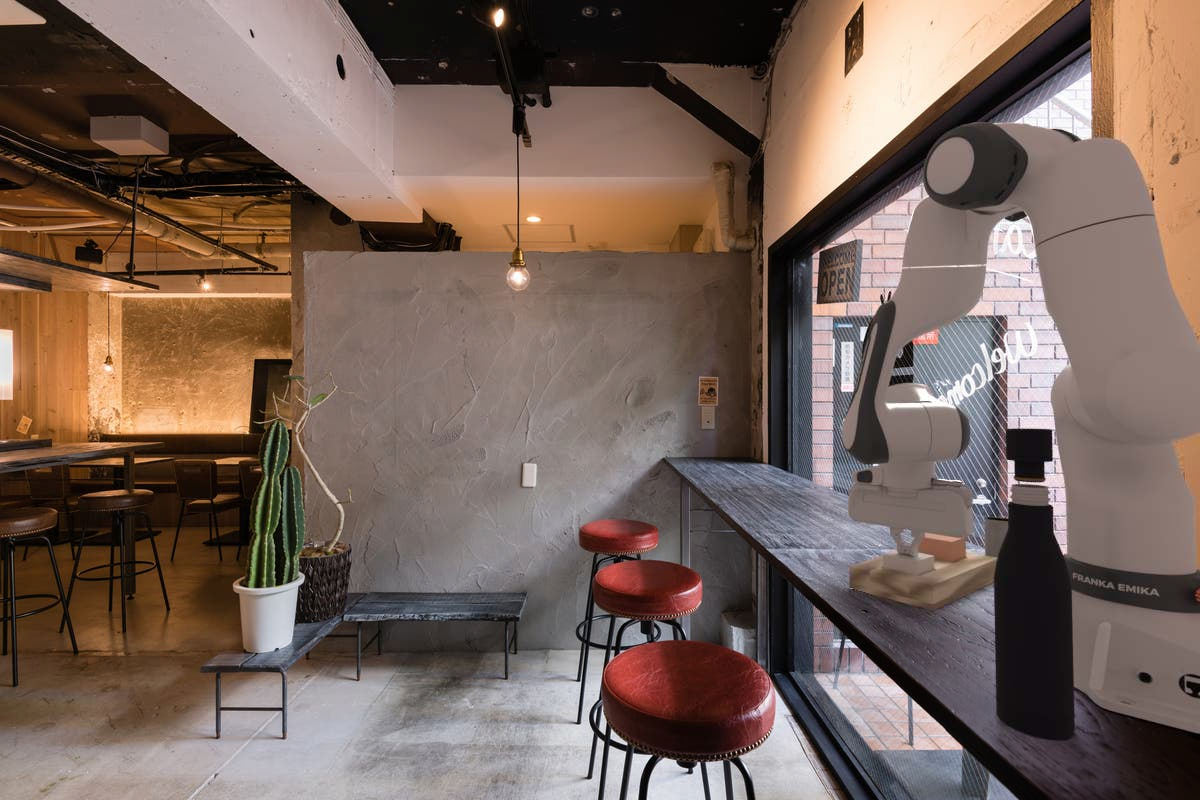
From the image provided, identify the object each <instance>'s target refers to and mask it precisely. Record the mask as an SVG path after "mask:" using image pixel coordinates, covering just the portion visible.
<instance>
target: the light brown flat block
mask: <svg viewBox="0 0 1200 800" xmlns="http://www.w3.org/2000/svg"><path fill="white" fill-rule="evenodd" d="M996 562H997V558H996V557H991V556H985V554H979V553H972V552H968V551H966V558H965V559H962V560H959V561H957V562H954V563H951V562H946V561H941V560H935V559H934V569H935V570H933V571H931V572H928V573H925V574H923V575H920V576H918V575H913V574H909V573H904V572H900V571H895V570H891V569H886V568H883V555H881V556H878V557H875V558H872V559H871V558H870V559H868V560H865V561H862V562H859V563H855V564H852V565H850V566H848V570H849V571H848V572H849V589H850V588H853V589H856V590H859V591H858V592H860V591H863V592H866V593H865V594H867V593H869V594H868V595H871V594H872V595H871V596H876V597H879V598H884V599H886V598H887V599H886V600H890V599H891V601H895V602H899V603H903V604H906V605H910V606H913V607H917V608H922V609H926V610H929V611H935V610H937V609H940V608H942V607H944V606H947V605H948V604H950V603H952V602H954V601H956V600H958V599H960V598H963V597H965V596H967V595H969V594H971V593H974V592H976V591H977V590H979V589H982V588H984V587H986V586H988V585H990V584H992V583H993V584H994V573H995V567H996ZM856 590H855V591H856ZM863 592H862V593H863Z"/></svg>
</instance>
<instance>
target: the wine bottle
mask: <svg viewBox="0 0 1200 800" xmlns="http://www.w3.org/2000/svg"><path fill="white" fill-rule="evenodd" d="M1053 446H1054V445H1053V430H1052V429H1051V428H1023V427H1022V428H1019V427H1018V428H1017V427H1016V428H1006V429H1005V460H1007V461H1013V462H1014V463H1013V464H1014V466H1013V467H1014V476H1013V479H1014V481H1016V482H1023V483H1015V484H1014V483H1013V484H1011V488H1010V489H1009V491H1010V492H1011V495H1010V496H1009V498H1010V499H1011V501H1008V503H1007V518H1008V531H1007V533H1006V535H1005V538H1004V540H1003V543H1002V546H1001V548H1000V551H999V554H998V558H997V562H996V567H995V573H994V582H993V602H994V605H993V609H994V610H993V611H994V650H995V651H994V653H995V654H994V656H995V665H994V666H995V700H996V701H995V706H996V715H997V716H998V719H1000V720H1001V721H1002V723H1004V724H1005V725H1007V726H1008V727H1011V729H1014V730H1017V731H1018V732H1021V733H1023V734H1026V735H1030V736H1033V737H1036V738H1041V739H1046V740H1056V741H1058V740H1059V741H1061V740H1067V739H1071V738H1072V737H1073V736H1075V732H1076V731H1075V728H1076V727H1075V726H1076V725H1075V722H1076V721H1075V720H1076V719H1075V716H1076V715H1075V687H1074V669H1073V622H1072V585H1071V581H1070V576H1069V572H1068V568H1067V565H1066V561H1065V558H1064V556H1063V555H1064V554H1063V551H1062V549H1061V546H1060V544H1059V542H1058V540H1057V539H1058V538H1057V537H1056V534H1055V530H1054V527H1055V526H1054V525H1055V524H1054V523H1055V522H1054V506H1053V505H1052V504H1050V503H1049V502H1051V498H1050V497H1049V495H1050V494H1051V491H1050V490H1049V486H1047V485H1041V484H1031V483H1045V481H1046V480H1047V478H1046V476H1045V475H1046V473H1045V472H1046V471H1045V469H1046V466H1045V463H1052V462H1054V460H1053V459H1054V454H1053V452H1054V450H1053V449H1054V448H1053ZM1028 483H1030V484H1028Z"/></svg>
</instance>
